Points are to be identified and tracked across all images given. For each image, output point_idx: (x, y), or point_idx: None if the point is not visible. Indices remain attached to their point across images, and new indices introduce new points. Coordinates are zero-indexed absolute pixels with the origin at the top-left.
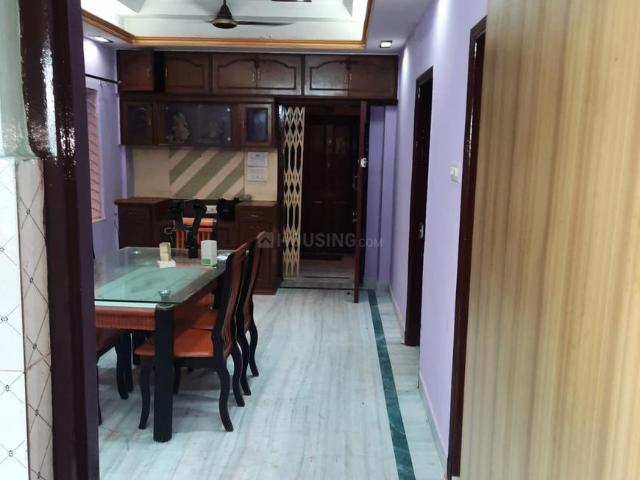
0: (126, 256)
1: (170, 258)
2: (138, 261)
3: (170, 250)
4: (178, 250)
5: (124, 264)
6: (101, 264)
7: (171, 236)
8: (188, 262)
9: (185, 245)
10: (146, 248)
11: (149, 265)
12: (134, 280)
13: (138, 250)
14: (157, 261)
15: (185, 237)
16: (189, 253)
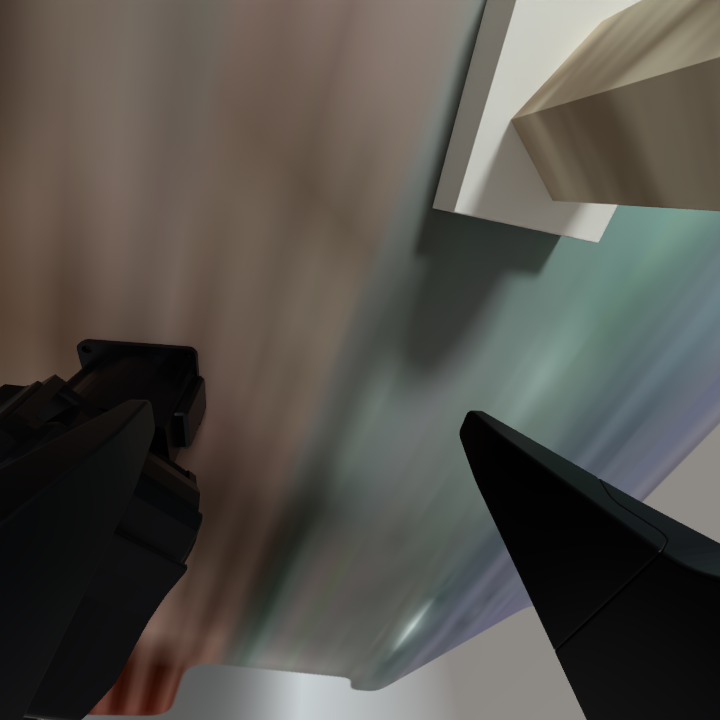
0: (487, 577)
1: (553, 92)
2: None
3: (656, 72)
4: (218, 621)
5: (625, 423)
6: (662, 478)
7: (666, 527)
8: (262, 134)
9: (193, 486)
10: (344, 671)
11: (586, 289)
12: None
13: (388, 650)
14: (614, 209)
15: (128, 648)
16: (178, 395)
